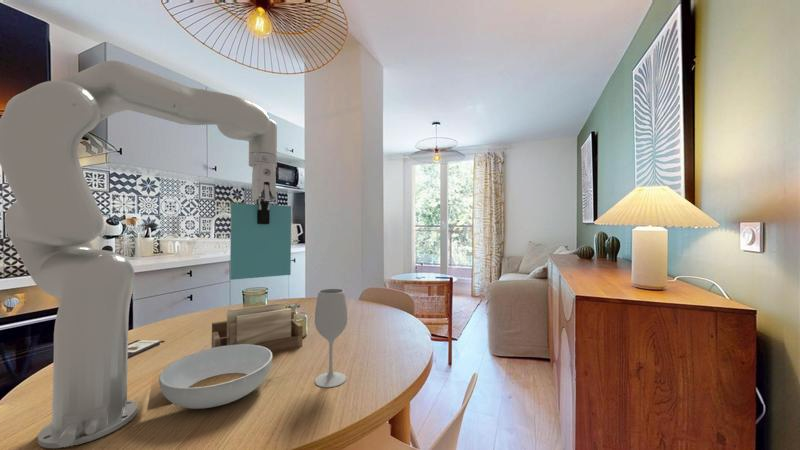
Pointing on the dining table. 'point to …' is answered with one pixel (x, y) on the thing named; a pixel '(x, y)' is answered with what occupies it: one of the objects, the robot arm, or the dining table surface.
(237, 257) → the teal board
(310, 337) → the dining table surface
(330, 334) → the wineglass
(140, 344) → the chocolate bar
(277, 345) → the walnut rack
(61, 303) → the robot arm
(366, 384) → the dining table surface
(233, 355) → the serving bowl
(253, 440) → the dining table surface
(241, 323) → the plywood offcuts
